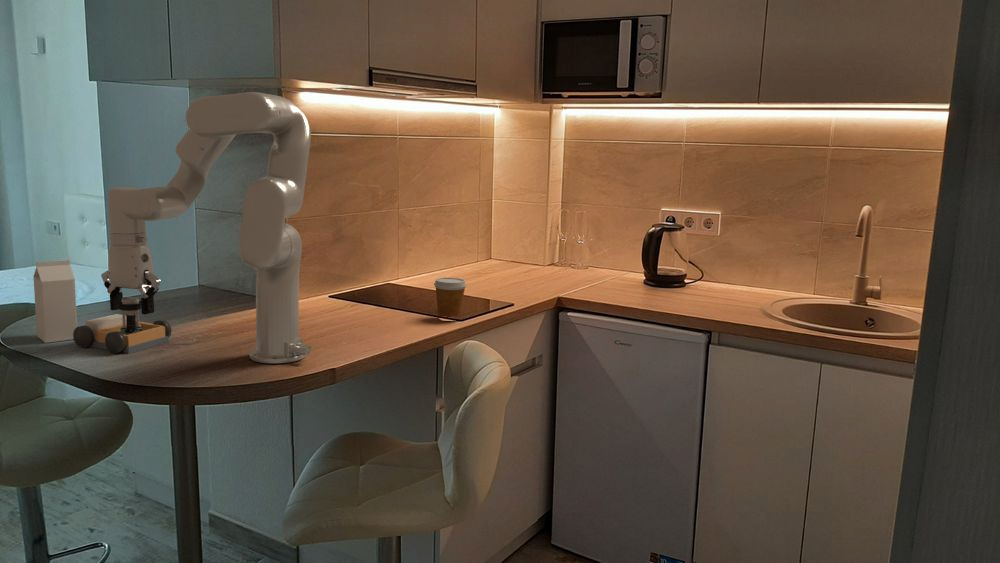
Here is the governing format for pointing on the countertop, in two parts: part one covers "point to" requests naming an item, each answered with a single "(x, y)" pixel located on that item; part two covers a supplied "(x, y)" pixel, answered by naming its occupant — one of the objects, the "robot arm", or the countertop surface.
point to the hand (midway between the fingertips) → (132, 311)
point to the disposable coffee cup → (449, 296)
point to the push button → (130, 315)
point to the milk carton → (55, 301)
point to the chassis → (120, 334)
